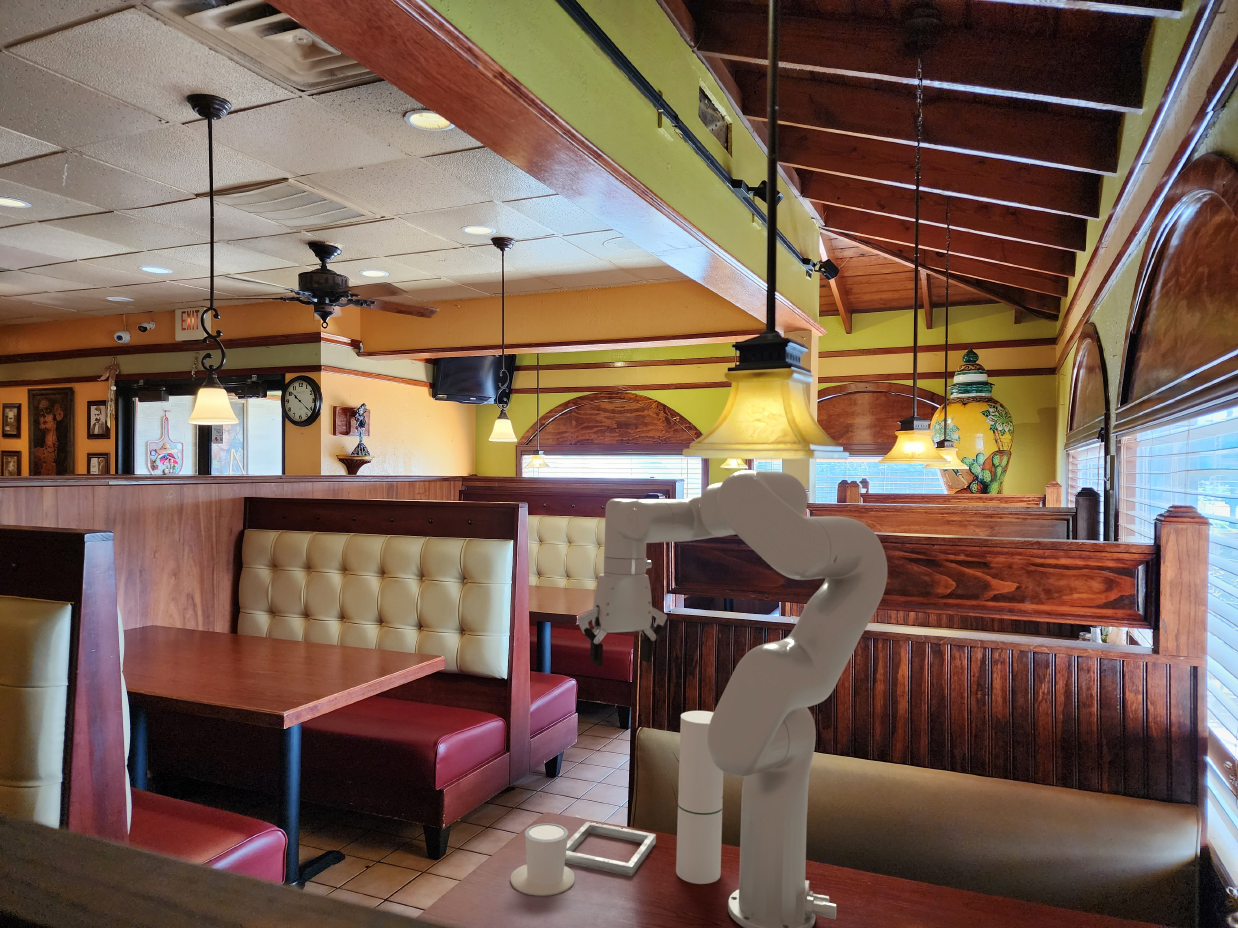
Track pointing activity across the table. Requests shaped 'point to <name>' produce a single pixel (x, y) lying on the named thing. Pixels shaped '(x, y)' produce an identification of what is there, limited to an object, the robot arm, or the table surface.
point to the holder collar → (609, 864)
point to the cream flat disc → (525, 886)
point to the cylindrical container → (698, 803)
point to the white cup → (545, 853)
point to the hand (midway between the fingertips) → (621, 663)
